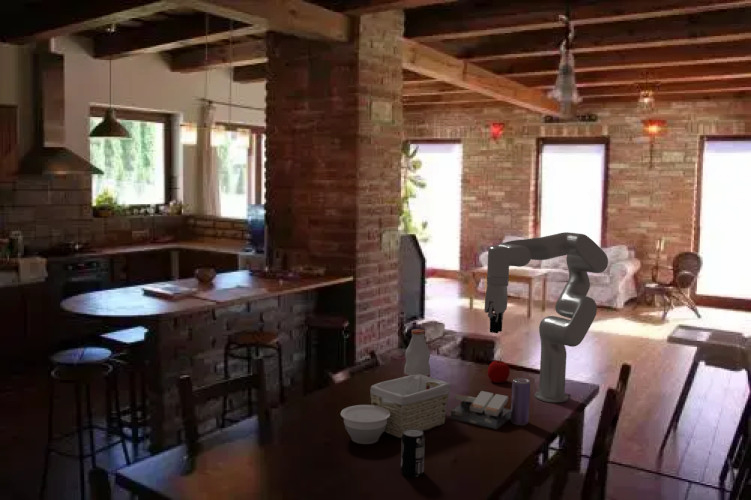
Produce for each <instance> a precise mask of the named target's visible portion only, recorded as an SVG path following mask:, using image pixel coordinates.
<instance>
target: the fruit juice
mask: <svg viewBox="0 0 751 500" xmlns="http://www.w3.org/2000/svg"><path fill="white" fill-rule="evenodd" d="M425 335H426V331H425V329H420V328H414V329H411V339H410V342H409V344H408V346H407V348H406V349H405V353H404V354H405V363H404V376H403V377H406V376H410V375H418V374H421V375H424V376H428V377H431V365H430V363H429V362H430V358H431V352H430V349H429V347H428V345H427V343H426V339H425ZM428 389H431V386H428V385H426V390H428Z"/></svg>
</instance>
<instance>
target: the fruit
mask: <svg viewBox="0 0 751 500" xmlns="http://www.w3.org/2000/svg"><path fill="white" fill-rule="evenodd" d="M499 359H500V360H493V361H492V362H491V363H490V364H489V366H488V368H487V371H486V373H487V376H488V377H487V378H489V380H490V381H491V382H492V383H496V384H503V383H505V382H506V381H507V380H508V379H509V377H510V373H511V372H510V366H509V365H508V364H507V363H506V362H504V361H502V357H500V358H499Z"/></svg>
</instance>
